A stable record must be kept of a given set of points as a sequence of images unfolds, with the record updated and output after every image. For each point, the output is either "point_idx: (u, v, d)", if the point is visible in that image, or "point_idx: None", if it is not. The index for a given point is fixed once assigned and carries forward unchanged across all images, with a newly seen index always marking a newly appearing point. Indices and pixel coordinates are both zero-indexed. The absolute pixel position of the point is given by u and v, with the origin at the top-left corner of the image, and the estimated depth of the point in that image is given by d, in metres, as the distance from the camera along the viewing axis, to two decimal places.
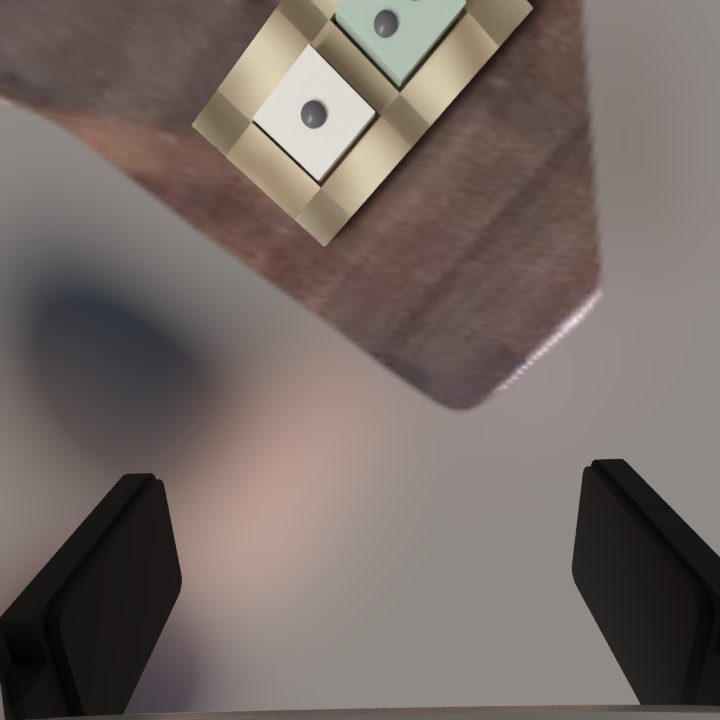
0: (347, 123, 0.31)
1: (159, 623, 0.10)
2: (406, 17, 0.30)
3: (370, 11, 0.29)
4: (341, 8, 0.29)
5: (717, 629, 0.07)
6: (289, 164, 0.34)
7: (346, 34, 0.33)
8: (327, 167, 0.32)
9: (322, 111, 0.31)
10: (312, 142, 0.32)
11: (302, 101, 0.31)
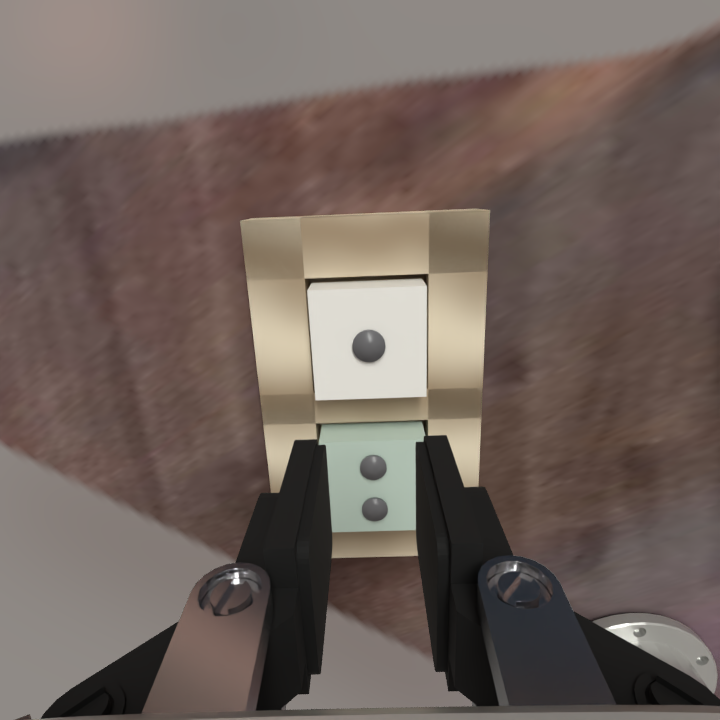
0: (330, 368, 0.24)
1: (328, 573, 0.11)
2: (361, 485, 0.26)
3: (394, 464, 0.26)
4: None
5: (450, 566, 0.08)
6: (356, 270, 0.24)
7: None
8: (310, 312, 0.23)
9: (363, 356, 0.24)
10: (347, 320, 0.23)
11: (390, 346, 0.24)
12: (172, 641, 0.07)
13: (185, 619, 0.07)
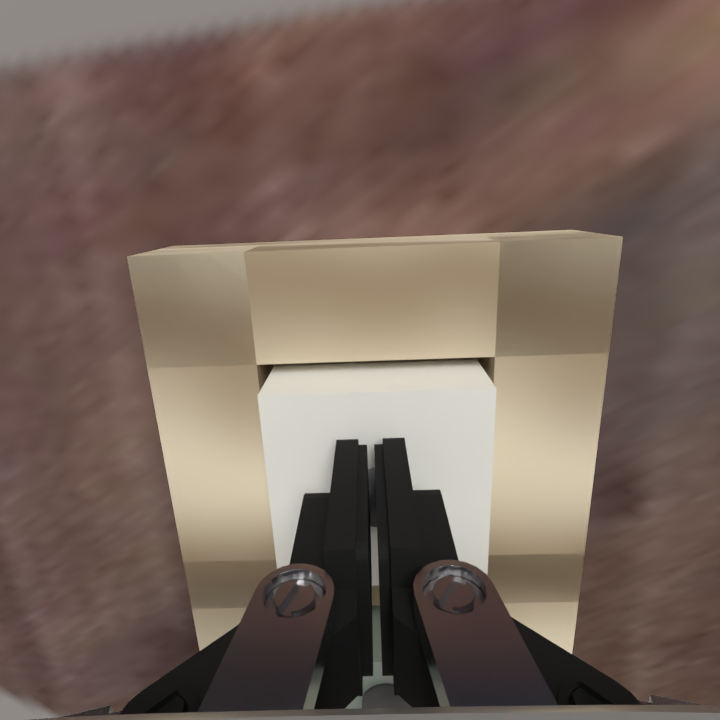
0: None
1: (371, 574, 0.11)
2: None
3: None
4: None
5: (390, 570, 0.08)
6: (355, 349, 0.13)
7: None
8: (265, 435, 0.12)
9: None
10: None
11: None
12: (234, 636, 0.07)
13: (249, 615, 0.07)
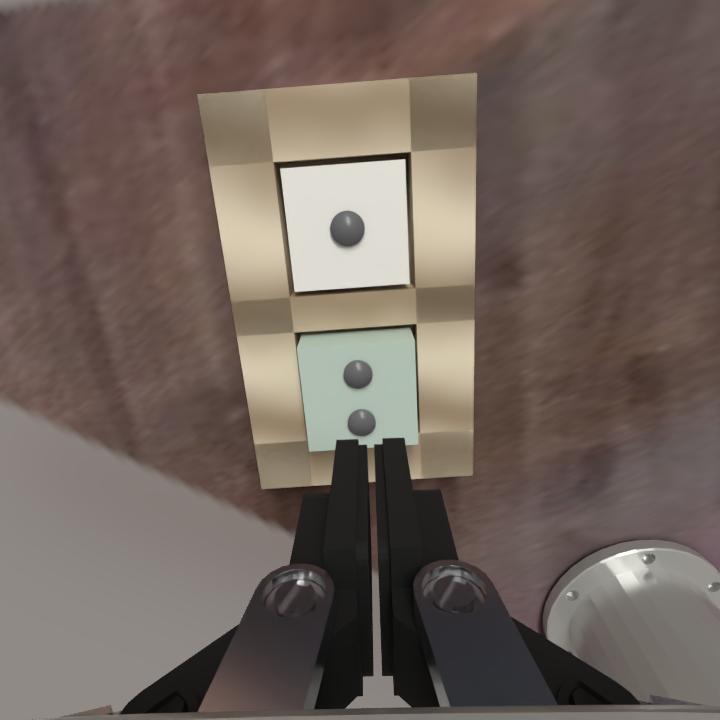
0: (308, 255, 0.23)
1: (371, 574, 0.11)
2: (345, 395, 0.24)
3: (381, 370, 0.24)
4: (409, 347, 0.23)
5: (389, 571, 0.08)
6: (330, 150, 0.22)
7: None
8: (284, 193, 0.22)
9: (342, 240, 0.23)
10: (323, 201, 0.22)
11: (369, 229, 0.23)
12: (234, 636, 0.07)
13: (249, 615, 0.07)
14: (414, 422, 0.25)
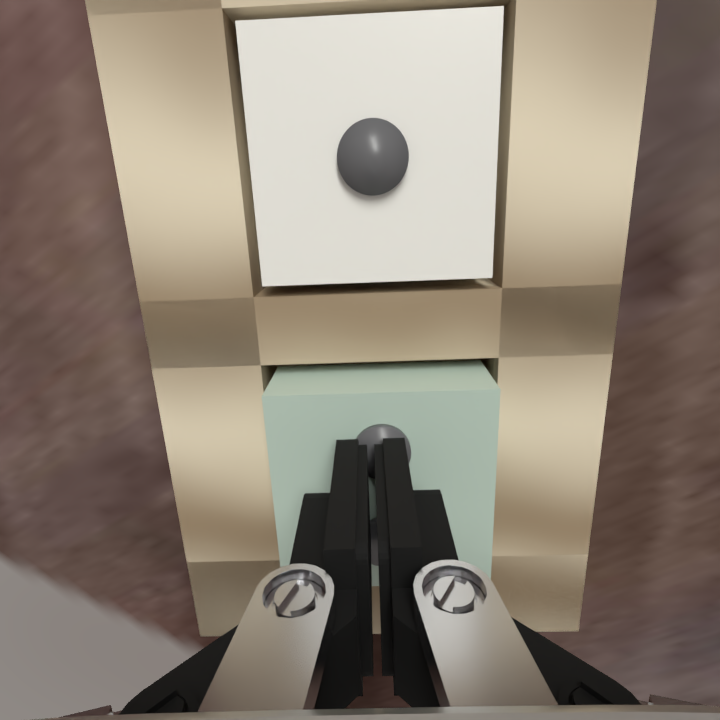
0: (290, 213, 0.11)
1: (371, 573, 0.11)
2: None
3: (428, 445, 0.12)
4: (488, 402, 0.12)
5: (390, 571, 0.08)
6: None
7: None
8: (244, 76, 0.11)
9: (361, 183, 0.11)
10: (325, 97, 0.11)
11: (418, 161, 0.11)
12: (234, 636, 0.07)
13: (248, 615, 0.07)
14: (486, 544, 0.13)
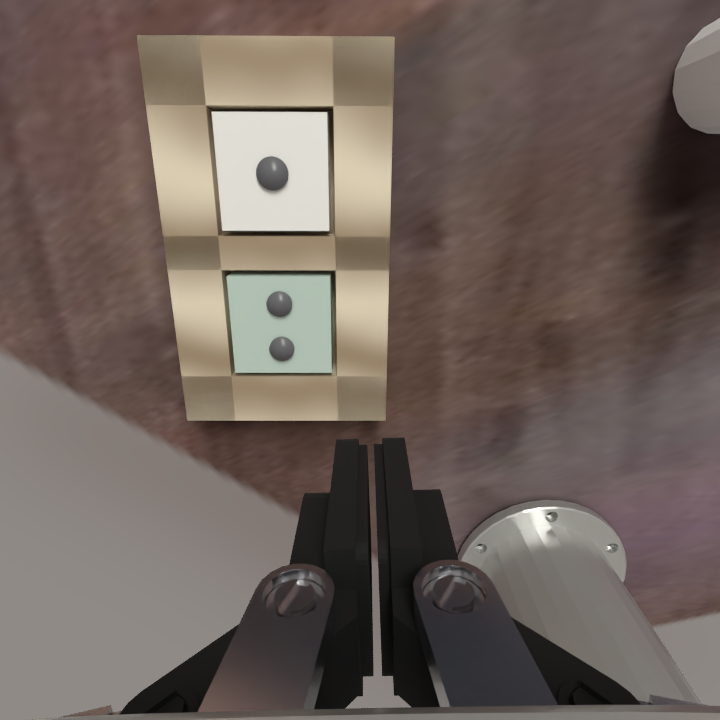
0: (235, 196, 0.25)
1: (371, 574, 0.11)
2: (268, 323, 0.27)
3: (300, 301, 0.27)
4: (325, 282, 0.27)
5: (389, 571, 0.08)
6: (259, 98, 0.24)
7: None
8: (215, 135, 0.24)
9: (267, 184, 0.25)
10: (251, 146, 0.24)
11: (293, 176, 0.25)
12: (234, 636, 0.07)
13: (249, 615, 0.07)
14: (328, 352, 0.28)
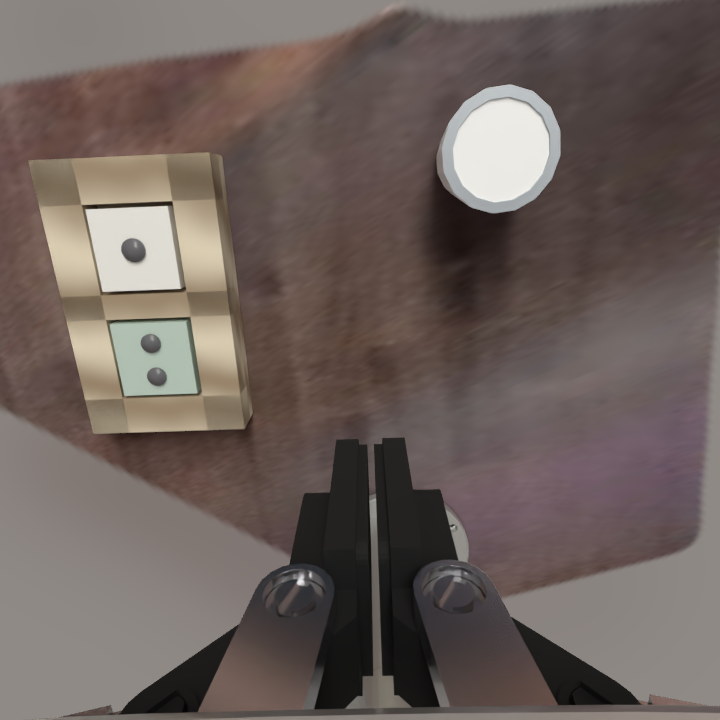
0: (109, 267, 0.34)
1: (371, 573, 0.11)
2: (144, 357, 0.36)
3: (166, 341, 0.36)
4: (183, 326, 0.35)
5: (389, 571, 0.08)
6: (118, 198, 0.33)
7: None
8: (89, 225, 0.33)
9: (131, 258, 0.34)
10: (116, 231, 0.33)
11: (149, 251, 0.34)
12: (234, 637, 0.07)
13: (249, 615, 0.07)
14: (192, 377, 0.37)
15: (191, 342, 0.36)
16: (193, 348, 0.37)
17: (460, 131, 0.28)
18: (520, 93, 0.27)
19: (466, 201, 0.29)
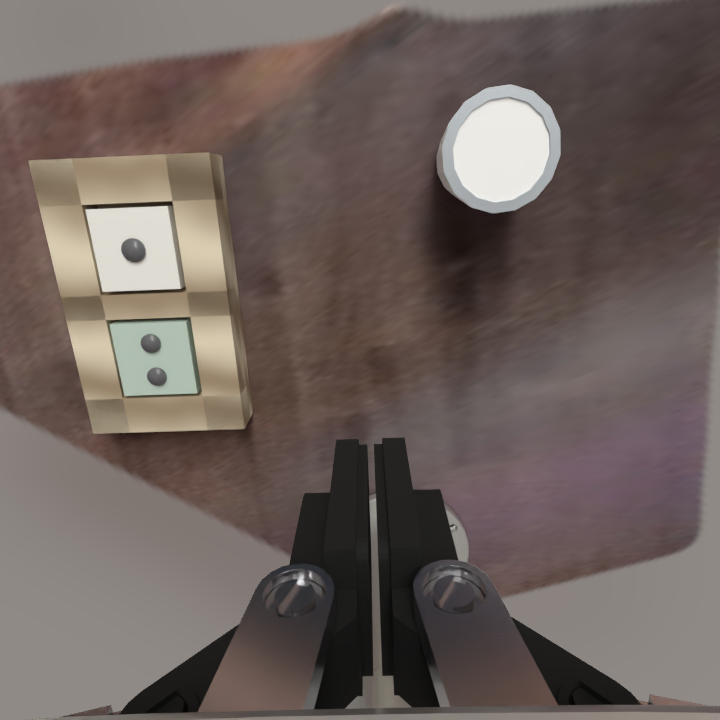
0: (109, 267, 0.34)
1: (371, 573, 0.11)
2: (144, 357, 0.36)
3: (166, 341, 0.36)
4: (183, 326, 0.35)
5: (389, 571, 0.08)
6: (118, 198, 0.33)
7: None
8: (89, 225, 0.33)
9: (131, 258, 0.34)
10: (116, 231, 0.33)
11: (149, 251, 0.34)
12: (234, 636, 0.07)
13: (249, 615, 0.07)
14: (192, 377, 0.37)
15: (191, 342, 0.36)
16: (193, 348, 0.37)
17: (460, 131, 0.28)
18: (520, 93, 0.27)
19: (466, 201, 0.29)
